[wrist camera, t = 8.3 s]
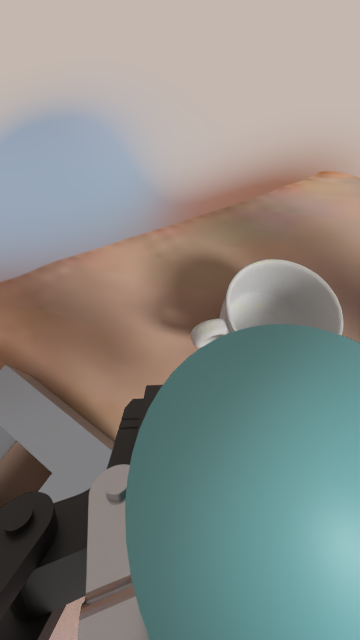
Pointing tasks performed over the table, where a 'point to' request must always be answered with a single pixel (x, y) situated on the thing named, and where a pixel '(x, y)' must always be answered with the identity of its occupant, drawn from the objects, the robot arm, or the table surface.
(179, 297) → the table surface
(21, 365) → the table surface
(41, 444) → the well block
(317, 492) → the peg
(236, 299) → the teacup
